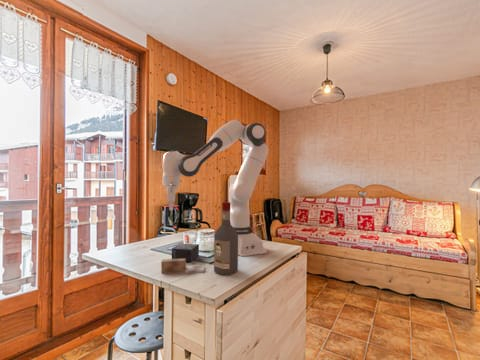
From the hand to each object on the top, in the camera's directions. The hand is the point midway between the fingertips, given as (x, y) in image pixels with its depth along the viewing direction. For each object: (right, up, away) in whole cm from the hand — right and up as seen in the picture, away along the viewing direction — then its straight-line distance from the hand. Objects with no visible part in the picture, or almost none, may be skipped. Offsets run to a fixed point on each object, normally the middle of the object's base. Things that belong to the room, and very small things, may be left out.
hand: (171, 209), depth 127 cm
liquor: (+29, -25, -19) cm, 43 cm away
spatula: (+11, -25, -19) cm, 33 cm away
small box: (+3, -22, -1) cm, 22 cm away
